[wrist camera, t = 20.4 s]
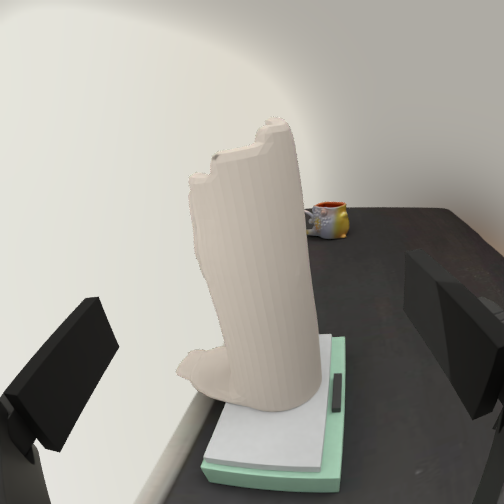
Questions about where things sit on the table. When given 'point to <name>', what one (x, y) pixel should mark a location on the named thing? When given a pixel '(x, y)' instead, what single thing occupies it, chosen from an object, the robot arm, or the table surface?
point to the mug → (329, 220)
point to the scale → (285, 437)
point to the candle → (256, 276)
